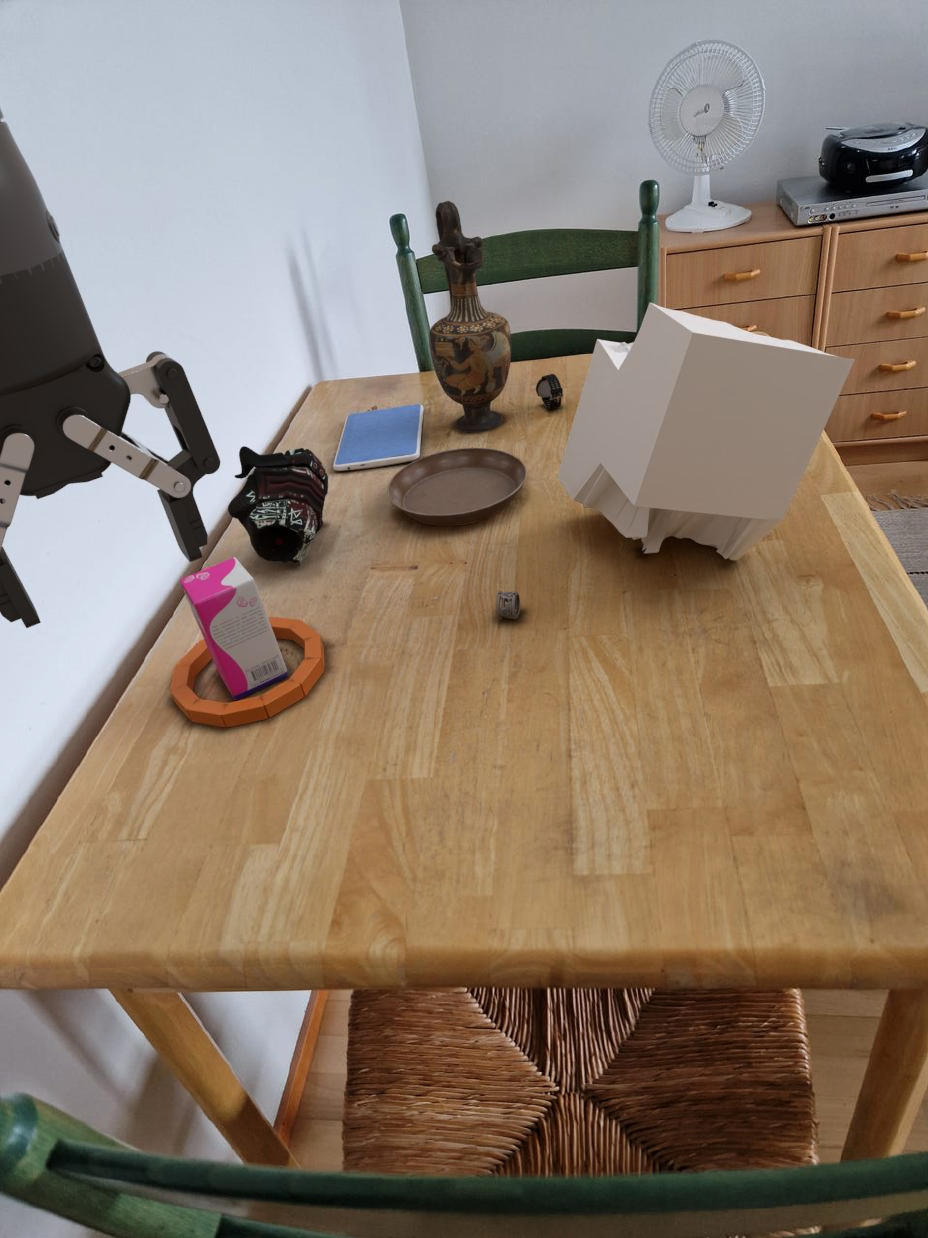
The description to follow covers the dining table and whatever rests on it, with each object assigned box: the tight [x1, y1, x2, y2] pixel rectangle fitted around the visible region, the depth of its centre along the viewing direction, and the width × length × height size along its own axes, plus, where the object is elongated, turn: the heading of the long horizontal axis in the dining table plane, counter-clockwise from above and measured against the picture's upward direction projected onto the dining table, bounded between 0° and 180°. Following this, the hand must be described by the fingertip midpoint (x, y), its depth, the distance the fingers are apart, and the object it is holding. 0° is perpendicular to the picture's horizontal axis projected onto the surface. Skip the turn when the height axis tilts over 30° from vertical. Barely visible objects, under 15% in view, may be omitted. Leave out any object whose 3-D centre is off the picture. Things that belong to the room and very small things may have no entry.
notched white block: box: [557, 302, 856, 561], centre depth 84 cm, size 20×16×25 cm
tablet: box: [332, 403, 425, 472], centre depth 125 cm, size 19×13×1 cm, turn 0°
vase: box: [428, 200, 512, 433], centre depth 117 cm, size 12×12×30 cm
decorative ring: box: [495, 590, 521, 620], centre depth 83 cm, size 3×2×3 cm
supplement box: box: [179, 556, 289, 701], centre depth 79 cm, size 6×6×12 cm
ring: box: [169, 616, 326, 728], centre depth 82 cm, size 15×15×2 cm
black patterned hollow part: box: [227, 445, 329, 566], centre depth 98 cm, size 10×15×14 cm
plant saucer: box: [386, 447, 528, 527], centre depth 105 cm, size 18×18×3 cm
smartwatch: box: [535, 373, 564, 411], centre depth 124 cm, size 4×5×5 cm
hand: (114, 586), depth 44 cm, fingers open, 8 cm apart
